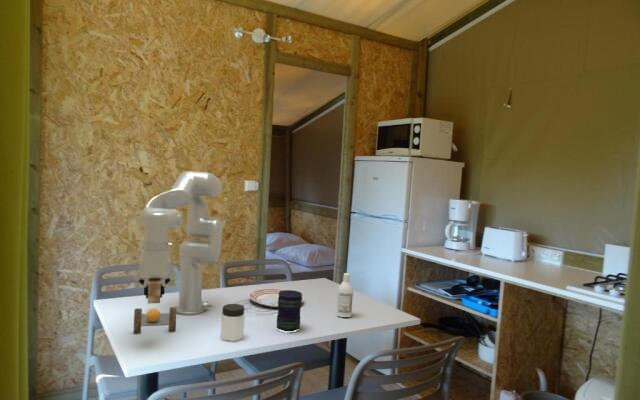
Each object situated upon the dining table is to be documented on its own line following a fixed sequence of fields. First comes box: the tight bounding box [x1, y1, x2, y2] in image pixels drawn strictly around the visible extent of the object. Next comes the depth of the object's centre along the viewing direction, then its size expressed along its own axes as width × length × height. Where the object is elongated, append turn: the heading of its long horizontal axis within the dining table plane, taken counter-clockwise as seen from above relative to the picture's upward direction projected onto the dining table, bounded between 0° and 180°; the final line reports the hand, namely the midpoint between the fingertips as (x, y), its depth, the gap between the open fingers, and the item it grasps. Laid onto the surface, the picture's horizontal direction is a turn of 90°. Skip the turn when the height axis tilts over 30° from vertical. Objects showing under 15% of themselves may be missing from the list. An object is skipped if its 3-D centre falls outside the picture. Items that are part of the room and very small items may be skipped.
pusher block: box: [147, 278, 161, 305], centre depth 156 cm, size 4×10×7 cm, turn 20°
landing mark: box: [141, 312, 170, 327], centre depth 182 cm, size 14×14×1 cm
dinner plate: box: [248, 288, 305, 308], centre depth 219 cm, size 27×27×3 cm
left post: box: [133, 307, 143, 335], centre depth 167 cm, size 3×3×9 cm
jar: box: [220, 303, 245, 342], centre depth 169 cm, size 9×8×12 cm
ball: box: [145, 308, 161, 322], centre depth 179 cm, size 6×6×6 cm
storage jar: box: [276, 289, 303, 331], centre depth 182 cm, size 10×10×15 cm
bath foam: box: [335, 272, 354, 316], centre depth 204 cm, size 7×7×20 cm
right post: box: [168, 306, 178, 333], centre depth 171 cm, size 3×3×9 cm
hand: (154, 296), depth 157 cm, fingers closed on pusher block, 4 cm apart
